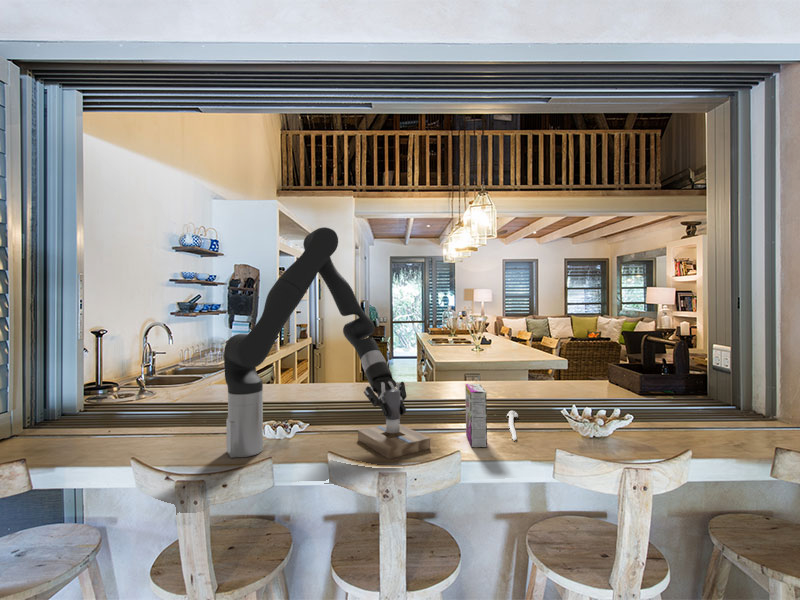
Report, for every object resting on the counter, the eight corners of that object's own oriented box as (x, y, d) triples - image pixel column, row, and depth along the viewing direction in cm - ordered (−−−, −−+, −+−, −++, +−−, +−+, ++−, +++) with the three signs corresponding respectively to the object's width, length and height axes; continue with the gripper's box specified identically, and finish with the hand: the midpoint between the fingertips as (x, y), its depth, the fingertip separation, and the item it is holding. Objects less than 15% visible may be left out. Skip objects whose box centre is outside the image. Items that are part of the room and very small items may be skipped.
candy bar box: (464, 435, 130) (464, 383, 130) (480, 435, 130) (480, 383, 130) (470, 448, 119) (470, 391, 119) (487, 448, 118) (487, 391, 118)
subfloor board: (388, 458, 111) (388, 447, 111) (358, 440, 126) (358, 429, 126) (430, 448, 118) (430, 437, 118) (396, 431, 134) (396, 422, 134)
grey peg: (390, 434, 119) (390, 393, 119) (382, 430, 123) (382, 390, 123) (403, 431, 122) (402, 391, 122) (395, 427, 125) (394, 388, 125)
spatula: (525, 444, 123) (525, 434, 123) (511, 443, 124) (511, 433, 124) (517, 417, 151) (517, 410, 151) (506, 417, 151) (506, 409, 151)
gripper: (359, 362, 125) (380, 411, 114) (399, 358, 132) (421, 404, 122) (351, 377, 129) (370, 426, 119) (390, 372, 137) (411, 417, 127)
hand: (396, 414), depth 121 cm, fingers closed on grey peg, 4 cm apart
